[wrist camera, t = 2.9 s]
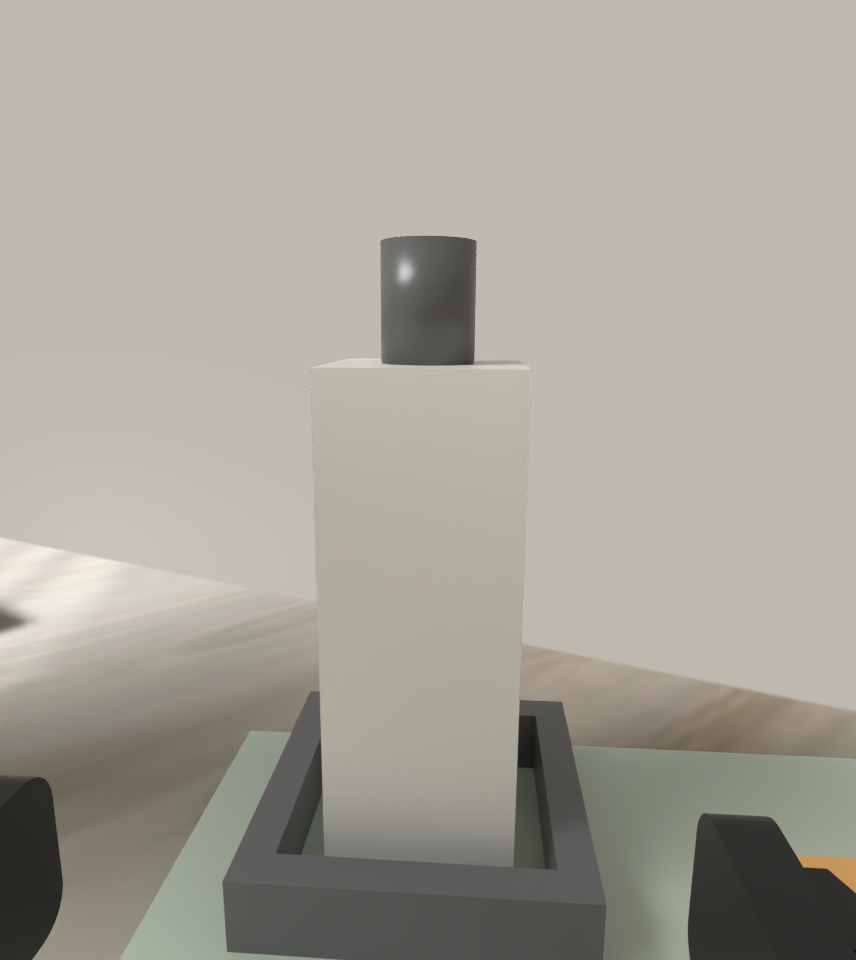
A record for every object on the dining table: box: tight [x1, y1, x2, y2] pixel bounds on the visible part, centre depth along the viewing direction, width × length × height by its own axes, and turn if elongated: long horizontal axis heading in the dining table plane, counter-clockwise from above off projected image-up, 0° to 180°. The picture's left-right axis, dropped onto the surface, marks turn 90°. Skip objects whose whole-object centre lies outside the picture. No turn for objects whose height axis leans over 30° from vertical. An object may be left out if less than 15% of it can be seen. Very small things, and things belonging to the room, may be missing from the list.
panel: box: [119, 691, 856, 960], centre depth 17 cm, size 26×17×3 cm, turn 86°
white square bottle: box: [310, 236, 532, 867], centre depth 19 cm, size 5×5×17 cm
